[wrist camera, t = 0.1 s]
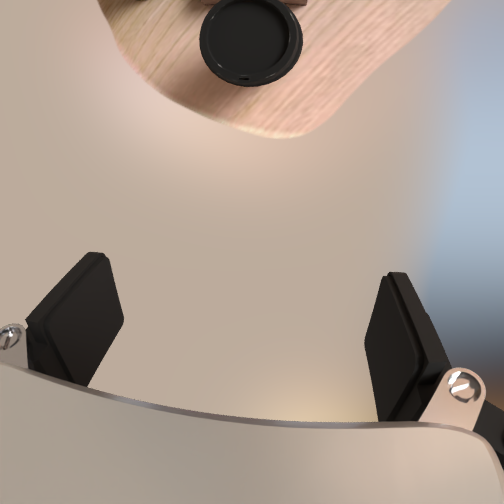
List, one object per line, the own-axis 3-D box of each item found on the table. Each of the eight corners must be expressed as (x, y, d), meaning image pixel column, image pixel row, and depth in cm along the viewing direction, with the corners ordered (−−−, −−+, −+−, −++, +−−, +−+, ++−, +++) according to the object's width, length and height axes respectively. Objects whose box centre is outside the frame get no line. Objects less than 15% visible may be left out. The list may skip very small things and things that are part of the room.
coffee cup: (225, 86, 35) (188, 85, 22) (229, 22, 31) (195, -13, 18) (295, 91, 34) (300, 91, 21) (300, 26, 30) (307, -11, 17)
